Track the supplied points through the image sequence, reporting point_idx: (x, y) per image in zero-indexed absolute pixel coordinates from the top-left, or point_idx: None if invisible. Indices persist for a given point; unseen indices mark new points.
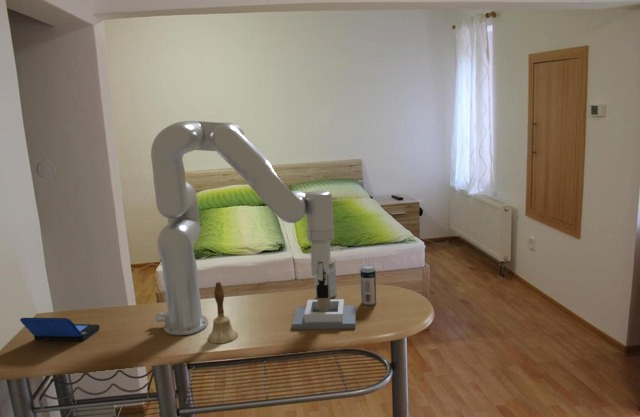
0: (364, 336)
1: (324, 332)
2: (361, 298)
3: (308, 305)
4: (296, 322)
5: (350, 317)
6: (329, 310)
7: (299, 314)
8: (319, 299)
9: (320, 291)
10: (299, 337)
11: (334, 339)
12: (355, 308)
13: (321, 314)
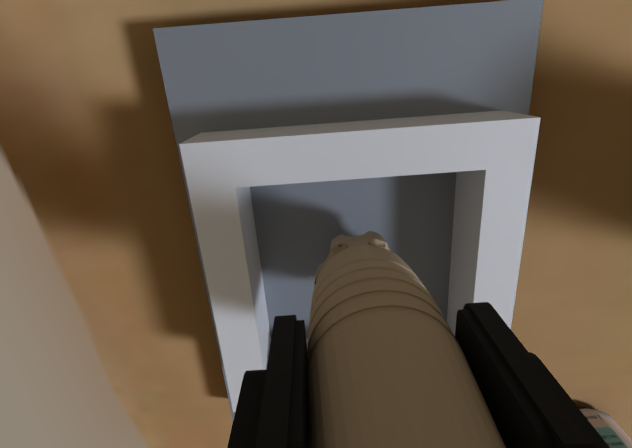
0: (158, 438)
1: (163, 261)
2: (595, 426)
3: (391, 147)
4: (193, 62)
5: None
6: (423, 275)
7: (354, 56)
8: (318, 305)
9: (237, 422)
10: (53, 117)
11: (89, 322)
12: None
13: (208, 283)
